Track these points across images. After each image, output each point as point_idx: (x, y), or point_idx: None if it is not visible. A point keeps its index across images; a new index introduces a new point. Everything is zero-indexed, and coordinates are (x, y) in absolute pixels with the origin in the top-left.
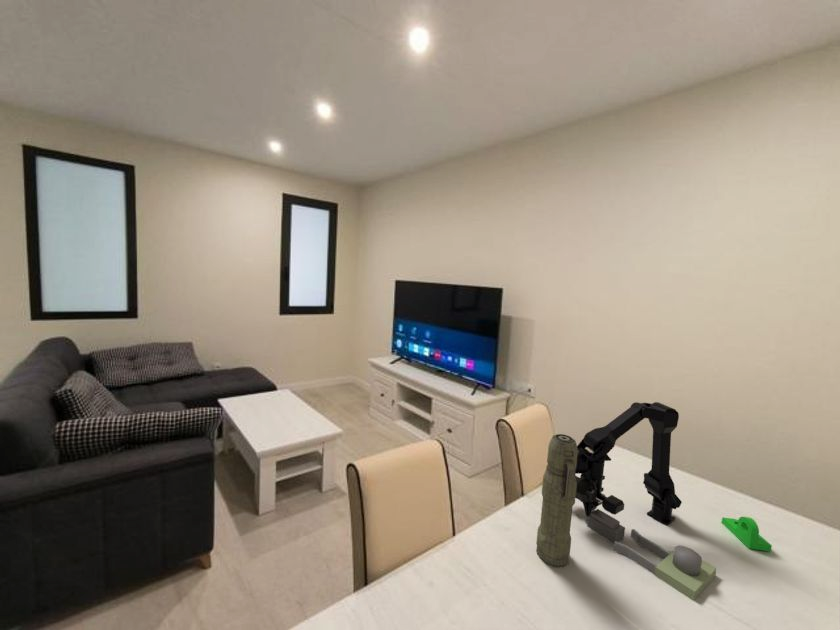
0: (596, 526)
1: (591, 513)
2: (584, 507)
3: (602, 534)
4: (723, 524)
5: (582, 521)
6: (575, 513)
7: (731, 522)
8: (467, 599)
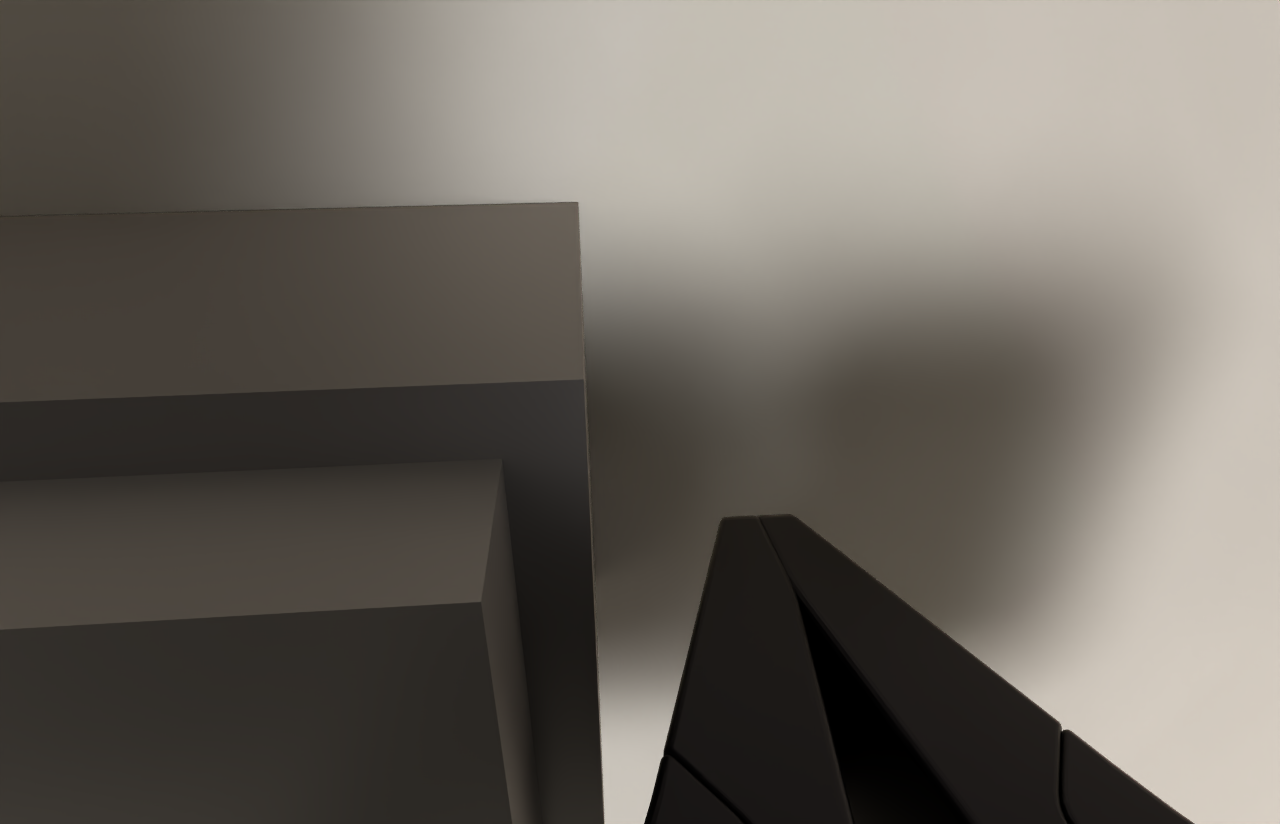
0: (179, 282)
1: (448, 576)
2: (1006, 698)
3: (11, 246)
4: None
5: (803, 331)
6: (1070, 450)
7: None
8: None
